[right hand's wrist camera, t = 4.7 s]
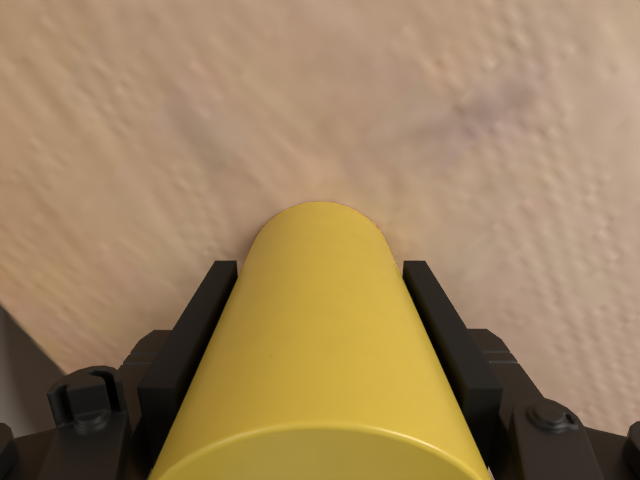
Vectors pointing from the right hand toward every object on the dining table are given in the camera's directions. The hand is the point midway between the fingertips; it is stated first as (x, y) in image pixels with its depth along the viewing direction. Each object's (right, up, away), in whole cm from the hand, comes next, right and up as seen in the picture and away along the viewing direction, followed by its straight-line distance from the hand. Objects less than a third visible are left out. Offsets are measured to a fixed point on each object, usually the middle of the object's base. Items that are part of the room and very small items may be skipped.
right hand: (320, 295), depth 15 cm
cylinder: (0, +1, +2) cm, 2 cm away
